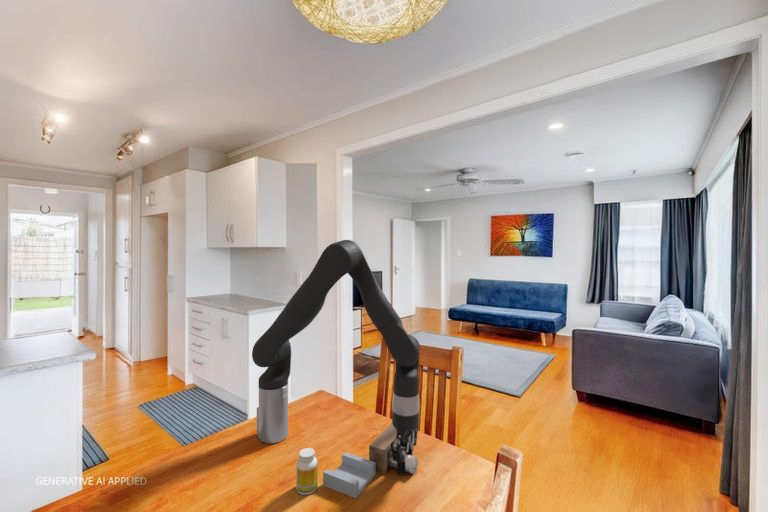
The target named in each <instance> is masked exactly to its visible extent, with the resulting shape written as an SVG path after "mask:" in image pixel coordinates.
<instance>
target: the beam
mask: <svg viewBox="0 0 768 512" xmlns="http://www.w3.org/2000/svg"><path fill="white" fill-rule="evenodd" d="M396 433H397V430H396V428H395V427H394V426H393V424H392V422H391V423H390V424H389V425H388V426H387V427H386V428H385V429H384V430H383V431H382V432H381V433H380V434H379V435H378V436H376V438H375V439H374V440H372V442H371V443H370V444H369V445H368V460H370V461H373V462H376V472H379V473H381V474H386V473H387V472H388V465H387V452H388V451H389V450H390V449H391V443H392V442H394V443H395V441H396ZM402 448H404V447H402Z"/></svg>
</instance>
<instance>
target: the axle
mask: <svg viewBox="0 0 768 512" xmlns="http://www.w3.org/2000/svg"><path fill="white" fill-rule="evenodd" d="M402 456H403V452H402ZM418 460H419V459H418V457H417V456H415V455H413V454H412V455H409V454H406V460H405V473H406V472H407V473H409V474H412V475H415V473H416V472H417V468H418V466H419V465H418V464H419V463H418V462H419V461H418ZM388 466H389V467H392V468H395V469H397V462H396V461H393V457H392V451H391V449H390V450H389V451H388V452H387V467H388Z"/></svg>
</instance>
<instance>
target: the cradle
mask: <svg viewBox="0 0 768 512" xmlns="http://www.w3.org/2000/svg"><path fill="white" fill-rule="evenodd" d="M376 472H377V471H376V462H373V461H370V460H369V459H367V458H364V457H361V456H358V455H355V454H352V453H349V452H346V451H345V452H343V454H342V455H341V464H340V465H339V466H337V468H336V469H335V470H331V469H329V468H326V469H325V470H324V471H323V472H322V483H323V484H322V485H323V486H324V487H327V488H329V489H331V490H334V491H335V492H338V493H341V494H342V495H345V496H348V497H350V498H354V499H356V498H357V497H358V496H359V495H360V494H361V493H362V492H363V490H364V489H365V488H366V487H367V486H368V484H369V483H370V482H371V481H372V480H373V478H374V477H375V476H376V475H377V473H376Z"/></svg>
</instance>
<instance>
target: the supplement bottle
mask: <svg viewBox="0 0 768 512" xmlns="http://www.w3.org/2000/svg"><path fill="white" fill-rule="evenodd" d="M295 467H296V468H295V469H296V470H295V472H296V473H295V474H296V475H295V478H296V479H295V481H296V482H295V488H296V492H297V493H299V494H300V495H303V496H308V495H311V494H313V493H314V492H315V491H316V490H317V488H318V459H317V458H316V451H315V449H314V448H312V447H306V448H303V449H301V450H299V452H298V460H297V461H296V465H295Z"/></svg>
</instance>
